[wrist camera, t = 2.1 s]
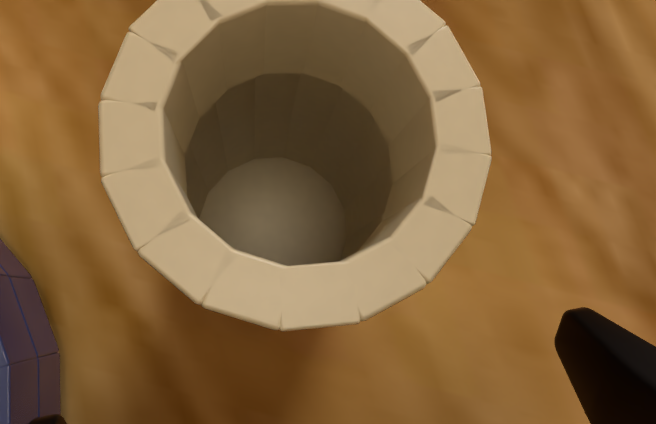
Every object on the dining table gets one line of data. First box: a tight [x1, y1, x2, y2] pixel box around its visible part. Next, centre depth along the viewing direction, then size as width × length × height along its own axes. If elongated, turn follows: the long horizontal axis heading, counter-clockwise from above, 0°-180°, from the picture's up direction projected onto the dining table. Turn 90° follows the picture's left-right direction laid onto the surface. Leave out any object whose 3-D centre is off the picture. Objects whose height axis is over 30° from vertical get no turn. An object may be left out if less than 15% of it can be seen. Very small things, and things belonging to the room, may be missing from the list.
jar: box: [98, 0, 492, 332], centre depth 14 cm, size 6×6×12 cm
